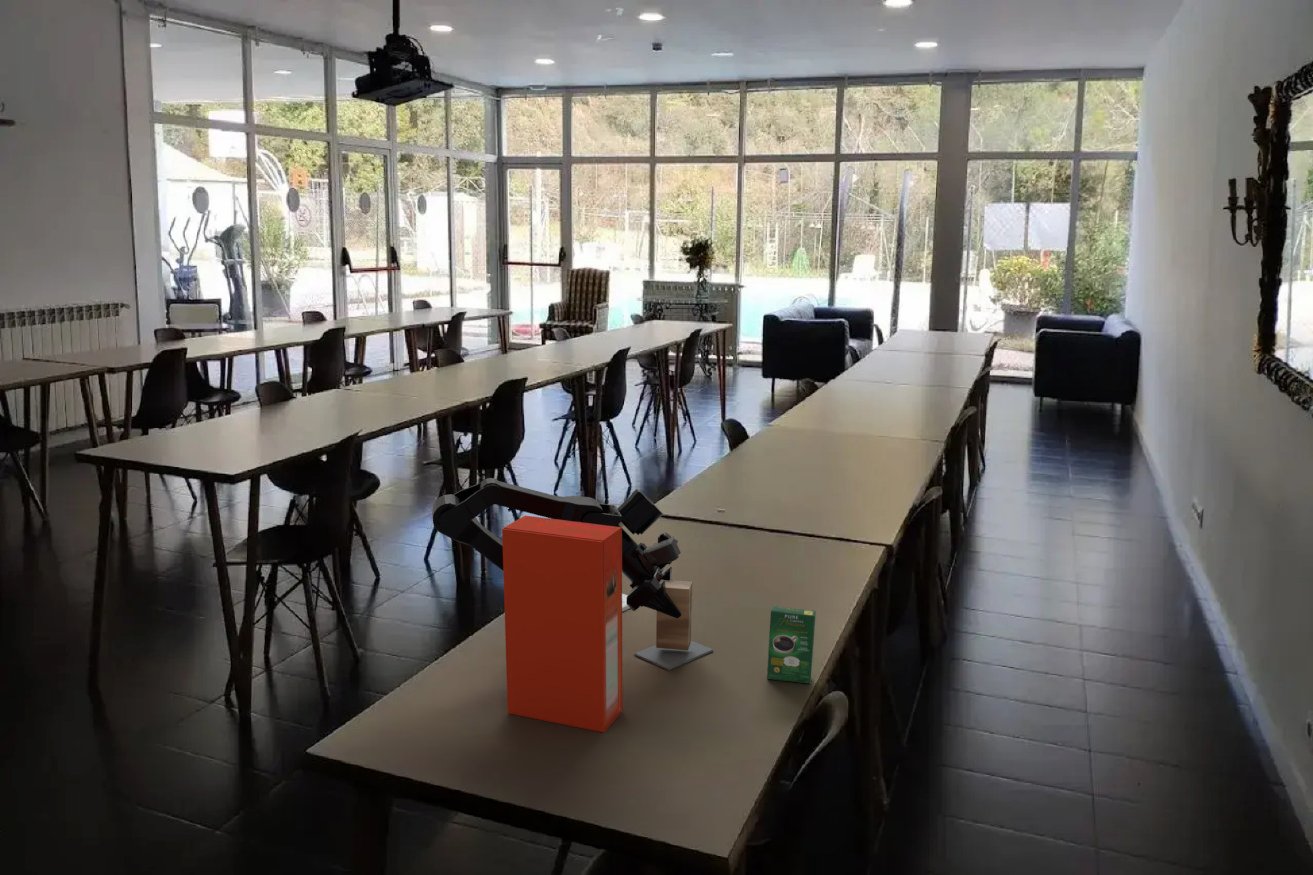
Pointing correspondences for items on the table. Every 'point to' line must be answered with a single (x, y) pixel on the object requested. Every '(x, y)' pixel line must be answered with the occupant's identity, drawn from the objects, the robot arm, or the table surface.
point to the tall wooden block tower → (676, 629)
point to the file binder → (563, 621)
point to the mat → (673, 655)
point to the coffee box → (791, 644)
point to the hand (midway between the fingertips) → (681, 612)
